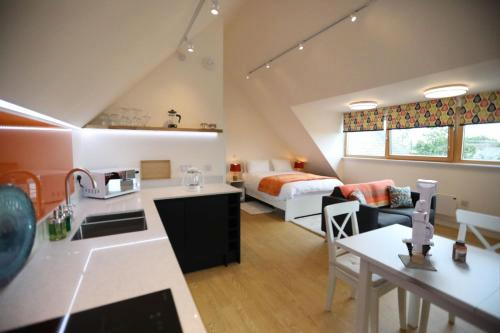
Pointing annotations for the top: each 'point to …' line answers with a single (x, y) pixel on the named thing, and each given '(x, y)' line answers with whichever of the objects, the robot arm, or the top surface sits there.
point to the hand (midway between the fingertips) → (416, 256)
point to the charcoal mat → (425, 265)
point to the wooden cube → (417, 257)
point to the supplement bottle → (459, 251)
